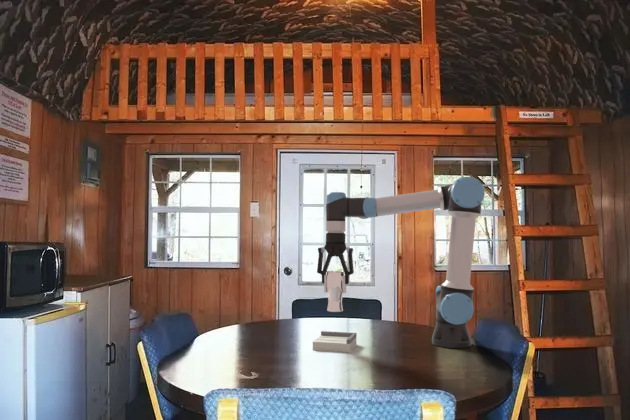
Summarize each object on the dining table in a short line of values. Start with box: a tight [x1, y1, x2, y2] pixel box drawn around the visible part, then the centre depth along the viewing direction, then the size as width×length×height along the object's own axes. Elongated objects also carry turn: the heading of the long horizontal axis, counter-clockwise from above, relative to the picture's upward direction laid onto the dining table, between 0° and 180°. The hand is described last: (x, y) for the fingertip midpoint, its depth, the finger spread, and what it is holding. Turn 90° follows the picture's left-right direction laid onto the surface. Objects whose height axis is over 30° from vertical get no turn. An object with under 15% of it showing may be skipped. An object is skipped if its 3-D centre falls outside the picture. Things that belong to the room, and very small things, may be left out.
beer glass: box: [326, 270, 345, 313], centre depth 198 cm, size 7×7×15 cm
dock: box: [312, 330, 357, 353], centre depth 197 cm, size 14×14×4 cm
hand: (335, 292), depth 198 cm, fingers closed on beer glass, 7 cm apart
